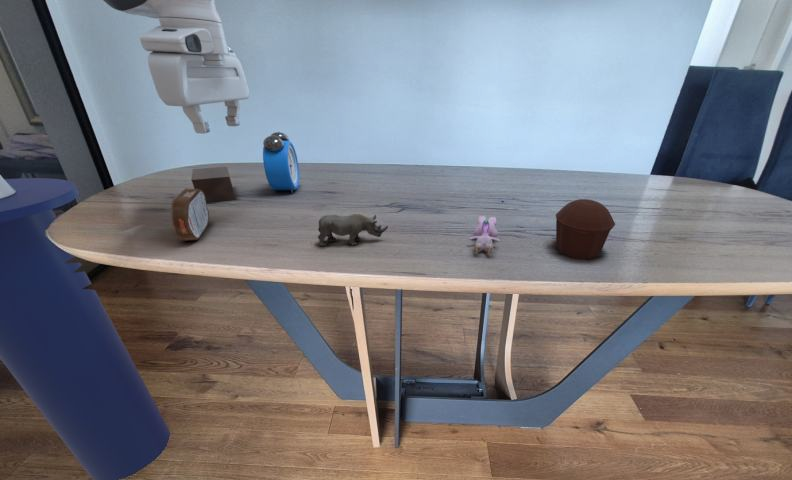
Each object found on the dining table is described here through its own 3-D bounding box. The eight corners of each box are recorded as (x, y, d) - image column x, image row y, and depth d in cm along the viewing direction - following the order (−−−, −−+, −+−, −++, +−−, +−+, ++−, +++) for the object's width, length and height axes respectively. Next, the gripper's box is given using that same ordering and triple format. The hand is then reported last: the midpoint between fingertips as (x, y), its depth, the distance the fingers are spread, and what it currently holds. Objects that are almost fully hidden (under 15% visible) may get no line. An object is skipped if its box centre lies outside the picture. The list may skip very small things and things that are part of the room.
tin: (199, 220, 82) (186, 183, 78) (215, 219, 83) (203, 182, 79) (179, 248, 70) (163, 205, 66) (198, 246, 71) (183, 204, 67)
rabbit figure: (498, 263, 72) (501, 224, 83) (500, 237, 68) (503, 200, 79) (466, 261, 72) (473, 222, 84) (467, 235, 68) (474, 198, 80)
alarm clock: (293, 196, 100) (282, 138, 92) (269, 197, 99) (255, 137, 91) (302, 183, 111) (292, 130, 103) (280, 183, 110) (269, 130, 102)
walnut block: (199, 203, 92) (191, 179, 89) (199, 191, 101) (192, 169, 98) (235, 199, 96) (229, 176, 93) (232, 187, 105) (227, 166, 102)
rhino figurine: (389, 244, 75) (387, 216, 72) (317, 248, 72) (312, 218, 69) (388, 236, 78) (386, 209, 75) (320, 239, 75) (315, 211, 73)
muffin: (611, 265, 70) (625, 215, 65) (552, 259, 71) (560, 209, 66) (601, 240, 80) (612, 195, 75) (549, 236, 81) (557, 191, 76)
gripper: (216, 44, 71) (234, 121, 78) (129, 35, 53) (162, 136, 60) (248, 46, 71) (264, 123, 78) (172, 38, 53) (200, 138, 60)
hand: (219, 129), depth 69 cm, fingers open, 8 cm apart
